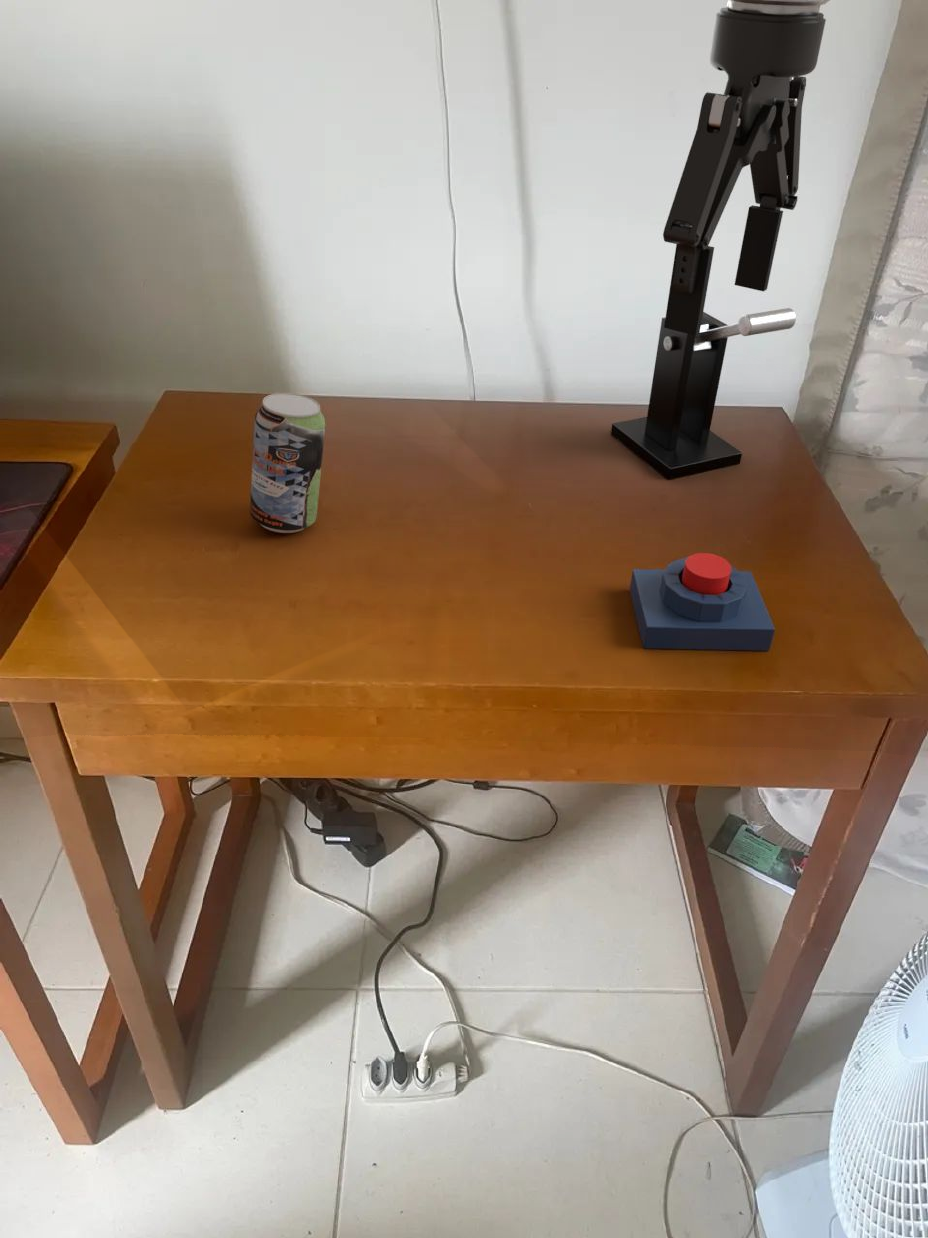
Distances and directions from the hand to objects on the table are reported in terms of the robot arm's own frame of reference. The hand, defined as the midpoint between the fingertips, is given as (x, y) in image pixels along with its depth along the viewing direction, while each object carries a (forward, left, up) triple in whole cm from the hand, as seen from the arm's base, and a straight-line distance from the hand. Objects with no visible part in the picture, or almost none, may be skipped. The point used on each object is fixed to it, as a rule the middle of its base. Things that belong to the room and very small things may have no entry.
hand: (717, 308), depth 81 cm
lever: (+4, -9, -7) cm, 12 cm away
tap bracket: (+9, -10, -20) cm, 24 cm away
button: (-12, +12, -17) cm, 23 cm away
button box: (-12, +12, -20) cm, 26 cm away
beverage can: (+21, +30, -20) cm, 42 cm away
